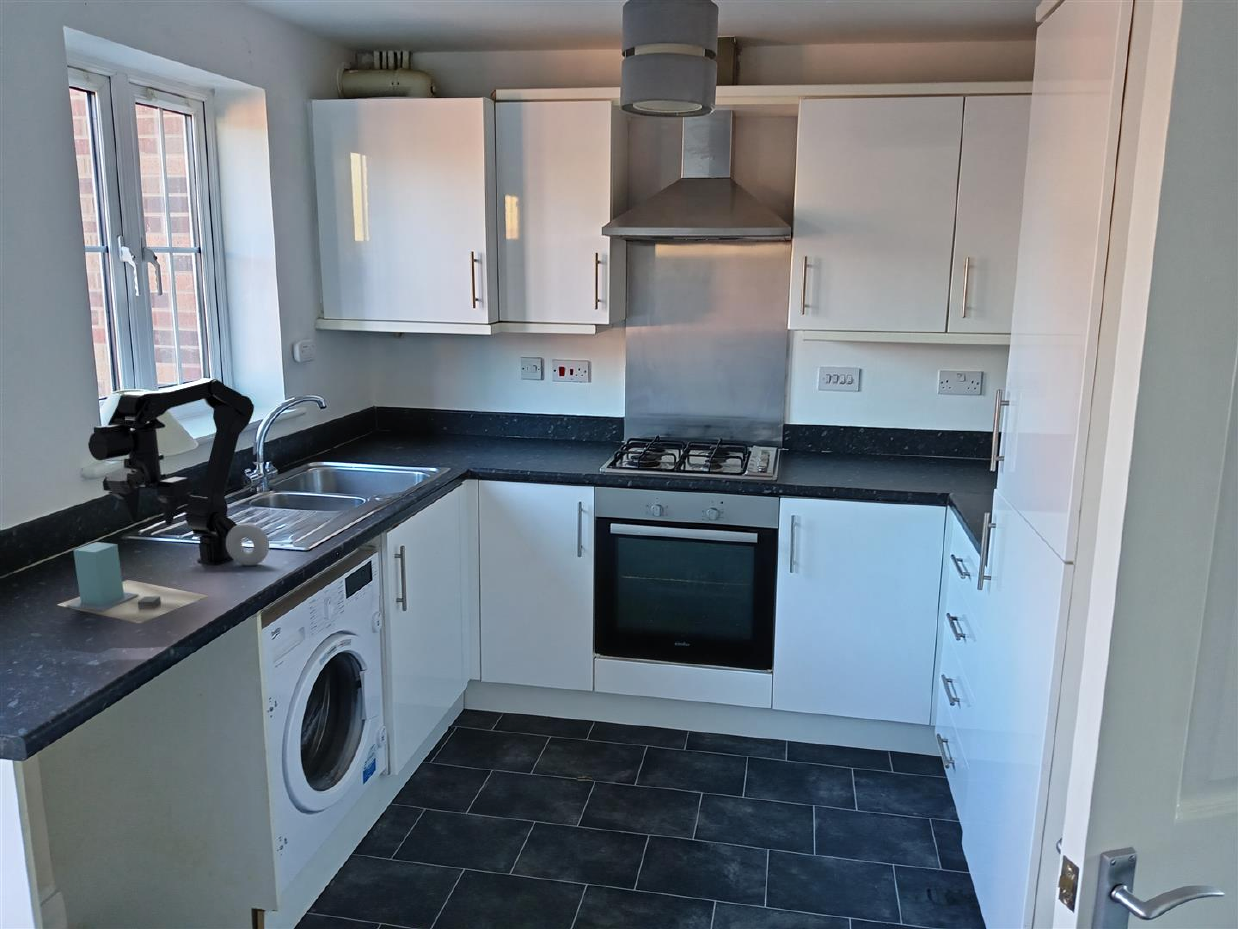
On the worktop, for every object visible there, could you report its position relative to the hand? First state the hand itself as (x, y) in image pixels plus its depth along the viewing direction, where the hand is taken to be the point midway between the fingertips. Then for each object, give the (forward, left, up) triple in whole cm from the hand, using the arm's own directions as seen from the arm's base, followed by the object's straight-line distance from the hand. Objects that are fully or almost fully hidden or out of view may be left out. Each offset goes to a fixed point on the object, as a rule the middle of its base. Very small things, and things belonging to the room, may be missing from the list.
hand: (151, 523), depth 202 cm
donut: (-16, +10, -13) cm, 23 cm away
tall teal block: (+16, +4, -11) cm, 20 cm away
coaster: (+16, +4, -12) cm, 20 cm away
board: (+13, +9, -13) cm, 21 cm away
